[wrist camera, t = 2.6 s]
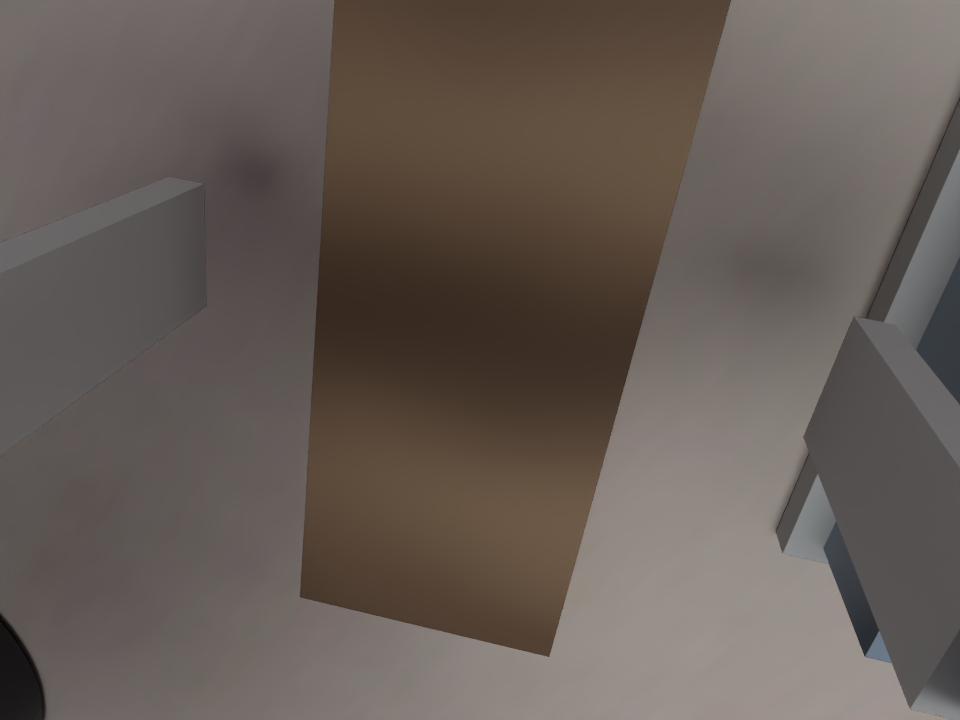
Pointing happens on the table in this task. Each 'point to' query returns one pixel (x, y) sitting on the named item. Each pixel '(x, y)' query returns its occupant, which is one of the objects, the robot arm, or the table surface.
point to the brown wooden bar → (485, 291)
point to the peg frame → (934, 335)
